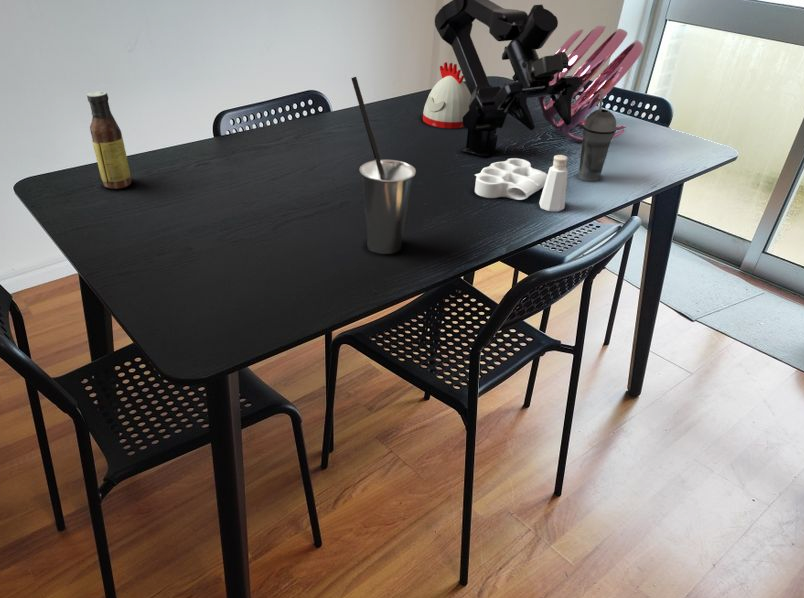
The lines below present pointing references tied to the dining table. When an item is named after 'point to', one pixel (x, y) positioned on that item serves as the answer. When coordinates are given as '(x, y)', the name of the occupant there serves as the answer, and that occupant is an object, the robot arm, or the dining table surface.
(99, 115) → the sauce bottle
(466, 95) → the kitchen timer
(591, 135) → the beverage cup
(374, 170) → the steel tumbler with stirrer
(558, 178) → the salt shaker
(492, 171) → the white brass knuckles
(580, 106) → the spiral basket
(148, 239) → the dining table surface
